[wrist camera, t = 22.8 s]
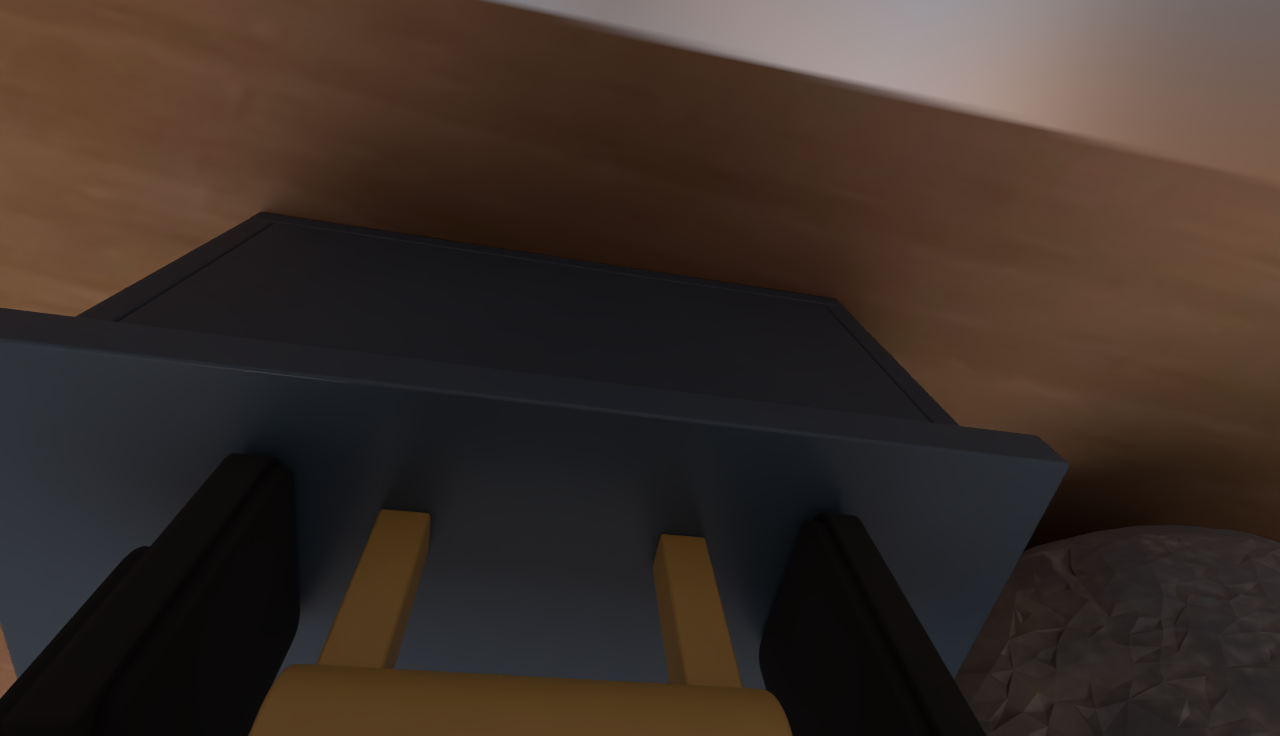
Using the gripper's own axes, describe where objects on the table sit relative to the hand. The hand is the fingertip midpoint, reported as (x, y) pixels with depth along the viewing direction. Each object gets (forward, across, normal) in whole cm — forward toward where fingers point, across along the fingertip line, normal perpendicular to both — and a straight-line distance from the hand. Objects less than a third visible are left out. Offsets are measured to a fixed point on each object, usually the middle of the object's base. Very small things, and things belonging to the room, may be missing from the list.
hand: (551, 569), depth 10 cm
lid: (+1, 0, +4) cm, 4 cm away
